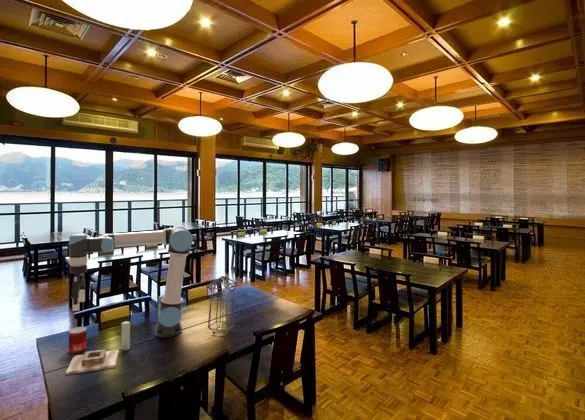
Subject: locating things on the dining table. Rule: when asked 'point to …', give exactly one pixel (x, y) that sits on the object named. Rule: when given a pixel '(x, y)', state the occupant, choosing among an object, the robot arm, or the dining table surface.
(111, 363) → the socket board
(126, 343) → the peg
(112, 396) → the dining table surface
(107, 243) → the robot arm
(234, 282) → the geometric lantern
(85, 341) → the canned food
